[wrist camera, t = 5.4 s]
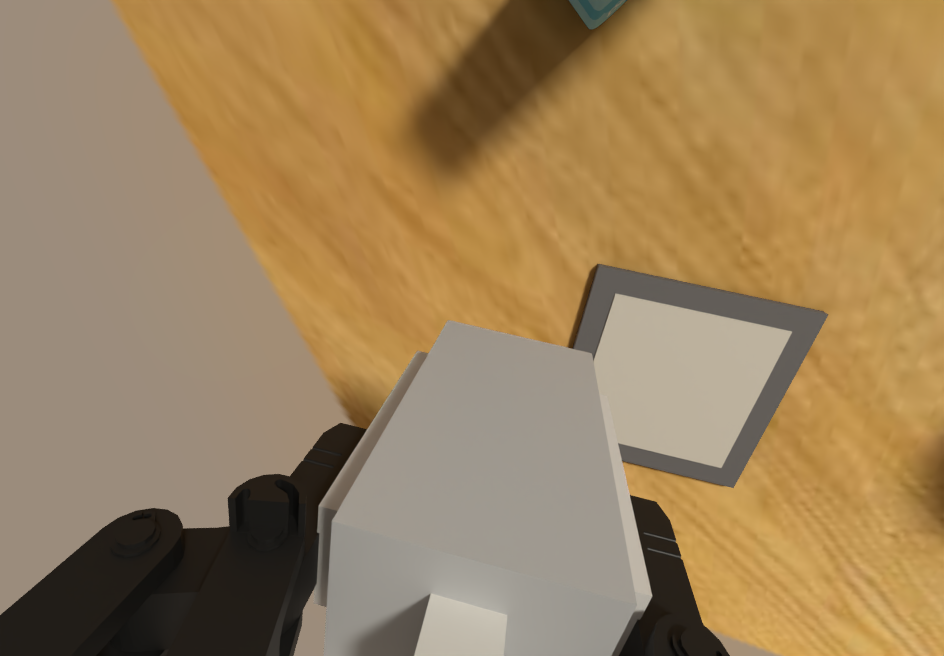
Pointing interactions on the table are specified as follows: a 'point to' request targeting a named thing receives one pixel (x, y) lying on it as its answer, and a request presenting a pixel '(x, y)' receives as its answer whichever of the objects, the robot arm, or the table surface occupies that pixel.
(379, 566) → the usb dongle
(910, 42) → the table surface
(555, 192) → the table surface
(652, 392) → the charcoal picture frame
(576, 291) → the table surface
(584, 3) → the data package
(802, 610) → the table surface
